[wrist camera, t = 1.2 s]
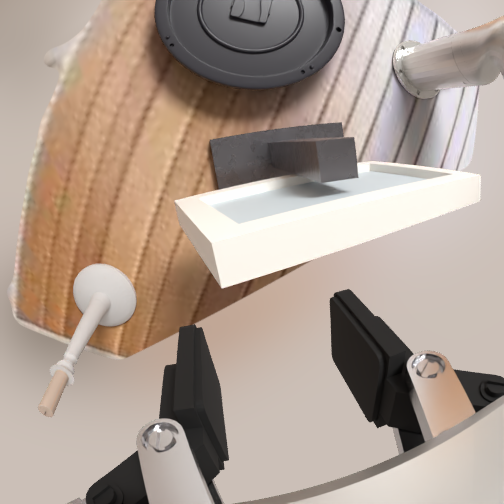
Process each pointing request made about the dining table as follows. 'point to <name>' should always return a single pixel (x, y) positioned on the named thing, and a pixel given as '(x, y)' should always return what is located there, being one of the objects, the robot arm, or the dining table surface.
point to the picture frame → (314, 215)
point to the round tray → (251, 39)
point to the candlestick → (90, 321)
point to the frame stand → (285, 155)
